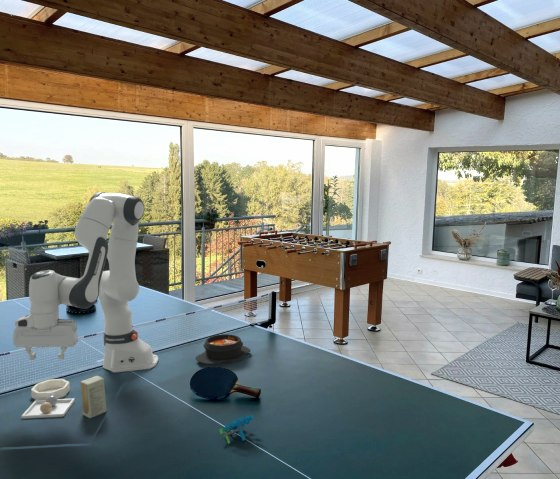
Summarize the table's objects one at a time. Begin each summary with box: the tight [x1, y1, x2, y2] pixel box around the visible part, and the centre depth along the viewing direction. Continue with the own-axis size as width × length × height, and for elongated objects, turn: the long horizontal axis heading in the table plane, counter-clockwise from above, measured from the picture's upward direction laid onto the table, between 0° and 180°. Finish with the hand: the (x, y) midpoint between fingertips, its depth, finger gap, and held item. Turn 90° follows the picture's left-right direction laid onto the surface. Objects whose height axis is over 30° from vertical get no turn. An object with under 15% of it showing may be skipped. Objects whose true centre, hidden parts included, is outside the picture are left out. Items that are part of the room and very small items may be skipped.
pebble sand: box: [40, 402, 52, 414], centre depth 163 cm, size 4×4×4 cm
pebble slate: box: [46, 395, 57, 406], centre depth 168 cm, size 4×4×4 cm
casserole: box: [195, 333, 252, 365], centre depth 211 cm, size 25×19×8 cm
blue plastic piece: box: [218, 414, 254, 445], centre depth 147 cm, size 11×6×10 cm
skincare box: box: [80, 375, 107, 419], centre depth 162 cm, size 6×4×12 cm
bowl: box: [30, 378, 71, 401], centre depth 177 cm, size 12×12×4 cm
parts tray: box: [20, 397, 76, 419], centre depth 165 cm, size 13×11×2 cm
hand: (46, 358), depth 166 cm, fingers open, 8 cm apart
